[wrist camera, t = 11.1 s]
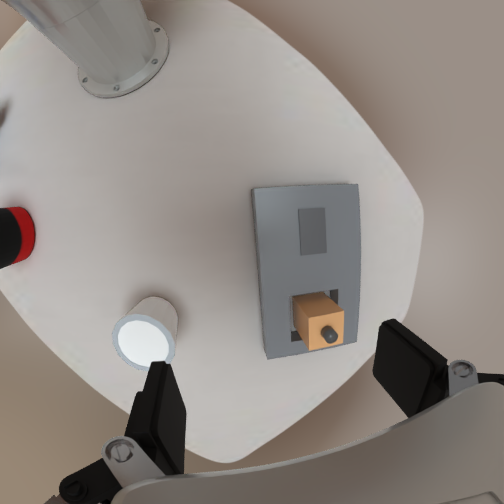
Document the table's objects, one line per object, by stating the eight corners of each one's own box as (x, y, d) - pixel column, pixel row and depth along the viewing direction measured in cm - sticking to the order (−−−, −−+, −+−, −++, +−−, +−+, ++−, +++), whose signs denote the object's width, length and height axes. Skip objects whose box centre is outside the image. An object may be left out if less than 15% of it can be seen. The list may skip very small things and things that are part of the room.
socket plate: (251, 189, 30) (254, 188, 27) (348, 185, 31) (358, 183, 28) (264, 349, 34) (267, 360, 31) (348, 333, 35) (357, 342, 32)
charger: (292, 296, 33) (313, 324, 25) (322, 291, 33) (350, 316, 25) (293, 325, 34) (313, 357, 26) (323, 320, 34) (348, 349, 26)
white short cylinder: (136, 283, 30) (116, 304, 23) (189, 302, 31) (182, 327, 25) (126, 331, 31) (108, 359, 24) (176, 348, 32) (168, 380, 25)
